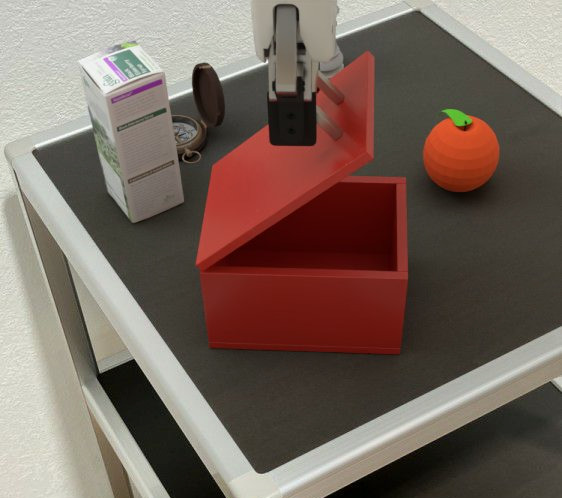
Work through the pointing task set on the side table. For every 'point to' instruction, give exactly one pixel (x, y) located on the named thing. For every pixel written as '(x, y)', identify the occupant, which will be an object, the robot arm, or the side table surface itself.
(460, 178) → the clementine
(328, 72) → the rook chess piece
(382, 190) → the red box
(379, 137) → the side table surface
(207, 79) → the compass
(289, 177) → the red box lid
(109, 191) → the syrup box
